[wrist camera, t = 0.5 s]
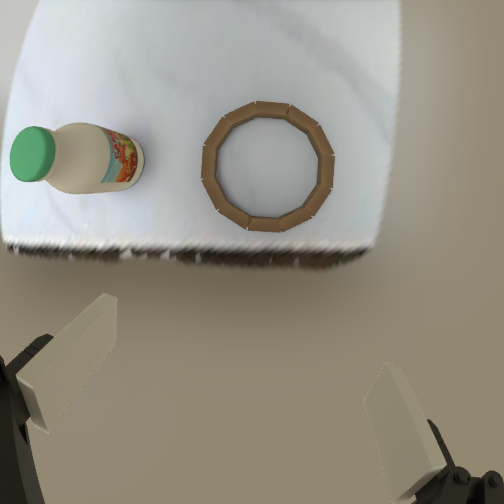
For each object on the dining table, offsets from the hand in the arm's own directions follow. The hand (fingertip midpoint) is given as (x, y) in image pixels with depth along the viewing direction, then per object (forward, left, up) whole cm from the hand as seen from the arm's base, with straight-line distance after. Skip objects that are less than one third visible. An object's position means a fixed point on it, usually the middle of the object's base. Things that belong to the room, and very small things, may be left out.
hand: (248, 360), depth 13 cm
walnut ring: (-10, +2, -27) cm, 29 cm away
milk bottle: (-10, -18, -27) cm, 35 cm away
